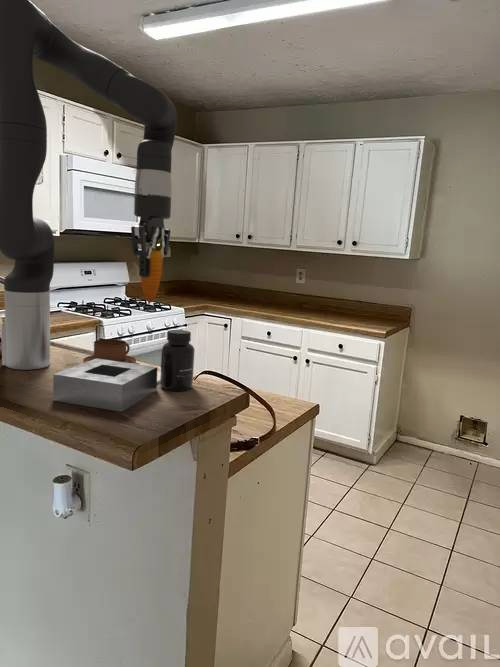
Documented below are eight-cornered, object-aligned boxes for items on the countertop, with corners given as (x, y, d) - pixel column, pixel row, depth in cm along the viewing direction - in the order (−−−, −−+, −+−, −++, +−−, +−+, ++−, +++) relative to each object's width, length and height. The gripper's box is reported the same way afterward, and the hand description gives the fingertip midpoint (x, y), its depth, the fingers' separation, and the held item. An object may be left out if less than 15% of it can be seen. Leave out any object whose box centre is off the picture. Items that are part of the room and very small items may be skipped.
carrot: (154, 301, 109) (156, 233, 106) (165, 304, 105) (168, 233, 103) (133, 301, 106) (135, 231, 103) (145, 304, 102) (147, 232, 99)
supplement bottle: (186, 393, 99) (189, 335, 97) (154, 389, 100) (156, 332, 98) (196, 384, 106) (199, 330, 103) (167, 381, 107) (169, 327, 105)
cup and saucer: (99, 359, 122) (99, 335, 121) (144, 364, 120) (144, 340, 119) (72, 370, 110) (72, 344, 109) (121, 377, 108) (122, 350, 107)
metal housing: (53, 400, 90) (53, 374, 89) (95, 381, 103) (96, 358, 102) (121, 411, 86) (122, 384, 85) (156, 390, 100) (157, 366, 99)
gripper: (152, 197, 109) (149, 273, 112) (119, 189, 96) (117, 276, 99) (183, 199, 107) (179, 276, 110) (154, 191, 94) (151, 279, 97)
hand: (150, 275), depth 105 cm, fingers closed on carrot, 5 cm apart
